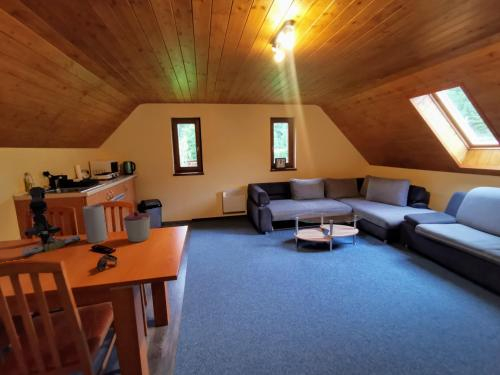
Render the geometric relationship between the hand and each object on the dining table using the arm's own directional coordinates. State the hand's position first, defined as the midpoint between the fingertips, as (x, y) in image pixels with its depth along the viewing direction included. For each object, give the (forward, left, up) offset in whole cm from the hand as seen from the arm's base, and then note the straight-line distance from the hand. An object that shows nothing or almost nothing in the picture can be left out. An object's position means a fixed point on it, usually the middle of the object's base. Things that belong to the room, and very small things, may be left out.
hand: (45, 244), depth 160 cm
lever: (-5, +2, 0) cm, 5 cm away
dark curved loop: (+55, +10, -7) cm, 57 cm away
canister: (+30, +45, -7) cm, 54 cm away
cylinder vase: (+3, +29, -7) cm, 30 cm away
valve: (-8, +6, -7) cm, 12 cm away
